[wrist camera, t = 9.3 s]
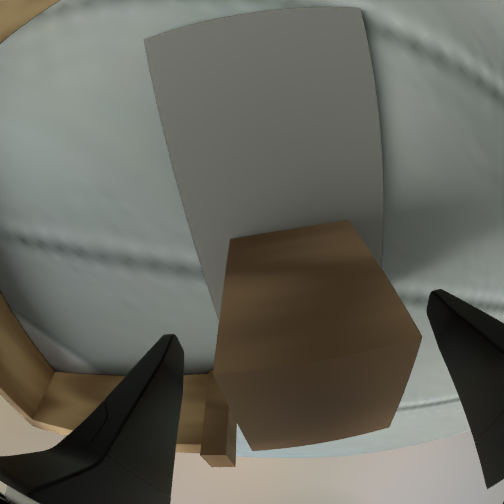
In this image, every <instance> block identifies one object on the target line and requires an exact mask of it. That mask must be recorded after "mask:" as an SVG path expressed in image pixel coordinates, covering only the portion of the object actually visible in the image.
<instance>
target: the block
mask: <svg viewBox="0 0 504 504" xmlns="http://www.w3.org/2000/svg"><path fill="white" fill-rule="evenodd" d="M421 339H422V335H421V334H420V332H419V330H418V328H417V326H416V325H415V323H414V321H413V319H412V318H411V316H410V314H409V313H408V311H407V309H406V307H405V306H404V304H403V302H402V301H401V299H400V297H399V296H398V294H397V293H396V291H395V289H394V288H393V286H392V285H391V283H390V281H389V280H388V278H387V277H386V275H385V273H384V272H383V270H382V269H381V267H380V266H379V264H378V263H377V261H376V260H375V258H374V257H373V255H372V254H371V252H370V251H369V249H368V248H367V246H366V245H365V243H364V242H363V240H362V239H361V237H360V236H359V235H358V233H357V232H356V230H355V229H354V227H353V226H352V225H351V223H350V222H349V220H345V221H338V222H332V223H325V224H319V225H312V226H306V227H300V228H294V229H287V230H281V231H275V232H269V233H263V234H257V235H251V236H245V237H239V238H233V239H230V241H229V249H228V256H227V264H226V271H225V279H224V287H223V294H222V302H221V310H220V319H219V327H218V335H217V344H216V353H215V361H214V370H213V375H214V377H215V379H216V381H217V383H218V386H219V388H220V390H221V392H222V394H223V396H224V398H225V400H226V402H227V404H228V406H229V408H230V410H231V412H232V414H233V416H234V418H235V420H236V422H237V423H238V425H239V427H240V429H241V431H242V433H243V435H244V437H245V439H246V440H247V442H248V444H249V446H250V448H251V449H252V451H259V450H271V449H281V448H289V447H297V446H304V445H311V444H317V443H323V442H329V441H334V440H339V439H344V438H348V437H353V436H357V435H361V434H366V433H369V432H373V431H377V430H381V429H384V428H388V427H389V426H390V424H391V422H392V420H393V417H394V415H395V413H396V410H397V408H398V406H399V403H400V401H401V398H402V396H403V393H404V390H405V388H406V385H407V382H408V380H409V377H410V374H411V371H412V368H413V365H414V362H415V359H416V356H417V353H418V349H419V346H420V343H421Z"/></svg>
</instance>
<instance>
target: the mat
mask: <svg viewBox="0 0 504 504" xmlns="http://www.w3.org/2000/svg"><path fill="white" fill-rule="evenodd" d="M144 44H145V49H146V54H147V59H148V64H149V69H150V74H151V79H152V83H153V88H154V93H155V97H156V102H157V106H158V110H159V115H160V119H161V123H162V127H163V131H164V135H165V139H166V143H167V147H168V151H169V155H170V159H171V163H172V167H173V171H174V174H175V178H176V182H177V186H178V189H179V193H180V196H181V200H182V204H183V207H184V211H185V214H186V218H187V221H188V224H189V228H190V231H191V235H192V238H193V241H194V245H195V248H196V251H197V254H198V258H199V261H200V264H201V267H202V270H203V274H204V277H205V280H206V283H207V286H208V289H209V292H210V295H211V298H212V301H213V304H214V307H215V310H216V313H217V316H218V319H220V310H221V302H222V294H223V287H224V279H225V271H226V264H227V256H228V249H229V241H230V239H233V238H239V237H245V236H251V235H257V234H263V233H269V232H275V231H281V230H287V229H294V228H300V227H306V226H312V225H319V224H325V223H332V222H338V221H345V220H349V222H350V223H351V225H352V226H353V227H354V229H355V230H356V232H357V233H358V235H359V236H360V237H361V239H362V240H363V242H364V243H365V245H366V246H367V248H368V249H369V251H370V252H371V254H372V255H373V257H374V258H375V260H376V261H377V263H378V264H379V266H380V267H381V268H382V250H383V164H382V146H381V133H380V122H379V112H378V103H377V95H376V88H375V81H374V74H373V68H372V62H371V56H370V51H369V46H368V41H367V36H366V31H365V27H364V22H363V18H362V14H361V10H360V8H353V7H308V8H290V9H279V10H269V11H261V12H253V13H247V14H240V15H234V16H229V17H224V18H219V19H214V20H210V21H205V22H201V23H197V24H193V25H189V26H185V27H182V28H178V29H175V30H171V31H168V32H165V33H162V34H158V35H155V36H152V37H150V38H147V39H144Z"/></svg>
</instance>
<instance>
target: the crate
mask: <svg viewBox="0 0 504 504" xmlns="http://www.w3.org/2000/svg"><path fill="white" fill-rule="evenodd" d="M58 1H59V0H0V43H1V42H2V41H4V40H5V39H6V38H7V37H9V36H10V35H11V34H12V33H13V32H15V31H16V30H17V29H19V28H20V27H21V26H23V25H24V24H25V23H27V22H28V21H29V20H31V19H32V18H34V17H35V16H36V15H38V14H39V13H41V12H42V11H44V10H45V9H47V8H48V7H50V6H51V5H53V4H55V3H56V2H58ZM124 377H125V376H116V375H92V374H76V373H64V372H55V371H54V370H53V369H52V367H51V366H50V365H49V364H48V362H47V361H46V360H45V358H44V357H43V356H42V355H41V353H40V352H39V351H38V349H37V348H36V347H35V345H34V344H33V342H32V341H31V340H30V338H29V337H28V335H27V334H26V332H25V331H24V329H23V328H22V326H21V325H20V323H19V322H18V320H17V319H16V317H15V316H14V314H13V313H12V311H11V309H10V308H9V306H8V304H7V303H6V301H5V299H4V298H3V296H2V294H1V292H0V395H1V396H2V397H3V398H4V399H5V400H6V401H7V402H8V403H9V404H10V405H11V406H12V407H13V408H14V409H15V410H16V411H17V412H18V413H19V414H20V415H22V416H23V417H24V418H25V419H26V420H27V421H28V422H29V423H30V424H31V425H32V426H35V427H37V428H41V429H44V430H48V431H51V432H54V433H58V434H62V435H66V436H67V435H69V434H70V433H71V432H72V431H73V430H74V429H75V428H76V427H77V426H79V425H80V424H81V423H82V422H83V421H84V420H85V419H86V418H87V417H88V416H89V415H90V414H91V413H92V412H93V411H94V410H95V409H96V408H97V407H98V406H99V404H100V403H101V402H102V401H103V400H104V401H105V398H106V397H107V396H108V395H109V394H110V392H111V391H112V390H113V389H114V388H115V387H116V386H117V385H118V384H119V383H120V382H121V380H122V379H123V378H124ZM236 429H237V422H236V420H235V418H234V416H233V414H232V412H231V410H230V408H229V406H228V404H227V402H226V400H225V398H224V396H223V394H222V392H221V390H220V388H219V386H218V383H217V381H216V379H215V377H214V375H213V370H209V374H193V375H184V376H183V397H182V404H181V412H180V419H179V427H178V435H177V443H176V451H175V452H181V453H200V456H201V457H202V458H203V459H204V460H205V461H206V462H207V463H208V464H209V465H210V466H211V467H235V463H236Z"/></svg>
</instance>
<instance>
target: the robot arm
mask: <svg viewBox="0 0 504 504" xmlns="http://www.w3.org/2000/svg"><path fill="white" fill-rule="evenodd" d="M427 316H428V318H429V321H430V324H431V327H432V330H433V332H434V335H435V338H436V341H437V344H438V347H439V350H440V352H441V354H442V357H443V359H444V361H445V363H446V366H447V368H448V370H449V373H450V375H451V378H452V380H453V383H454V385H455V388H456V390H457V393H458V395H459V398H460V400H461V403H462V406H463V409H464V411H465V414H466V417H467V420H468V423H469V426H470V429H471V432H472V435H473V438H474V442H475V445H476V449H477V452H478V455H479V459H480V463H481V466H482V471H483V475H484V479H485V483H486V487H487V489H488V488H490V487H492V486H493V485H495V484H497V483H498V482H500V481H501V480H503V479H504V323H502V322H500V321H499V320H497V319H495V318H493V317H492V316H490V315H488V314H486V313H485V312H483V311H481V310H479V309H477V308H476V307H474V306H472V305H470V304H468V303H467V302H465V301H463V300H461V299H459V298H457V297H455V296H454V295H452V294H450V293H448V292H446V291H444V290H442V289H438V290H434V291H432V292H431V293H430V296H429V301H428V305H427ZM183 376H184V351H183V348H182V346H181V344H180V342H179V340H178V338H177V336H176V335H175V334H166V335H163V336H162V337H161V338H160V339H159V340H158V341H157V342H156V344H155V345H154V346H153V347H152V348H151V349H150V350H149V351H148V352H147V353H146V354H145V355H144V357H143V358H142V359H141V360H140V361H139V362H138V363H137V364H136V365H135V366H134V367H133V368H132V370H131V371H130V372H129V373H128V374H127V375H126V376H125V377H124V378H123V379H122V380H121V382H120V383H119V384H118V385H117V386H116V387H115V388H114V389H113V390H112V391H111V392H110V394H109V395H108V396H107V397H106V398H105V401H104V400H103V401H102V402H101V403H100V404H99V406H98V407H97V408H96V409H95V410H94V411H93V412H92V413H91V414H90V415H89V416H88V417H87V418H86V419H85V420H84V421H83V422H82V423H81V424H80V425H79V426H77V427H76V428H75V429H74V430H73V431H72V432H71V433H70V434H69V435H67V436H66V437H65V438H64V439H63V440H62V441H61V442H60V443H58V444H57V445H56V446H54V447H53V448H51V449H48V450H45V451H40V452H34V453H27V454H20V455H13V456H0V481H2V482H3V483H5V484H6V485H7V489H6V492H5V494H3V493H1V492H0V504H170V501H171V497H170V496H171V487H172V478H173V469H174V460H175V451H176V443H177V435H178V427H179V419H180V412H181V404H182V397H183ZM503 504H504V502H503Z"/></svg>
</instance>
